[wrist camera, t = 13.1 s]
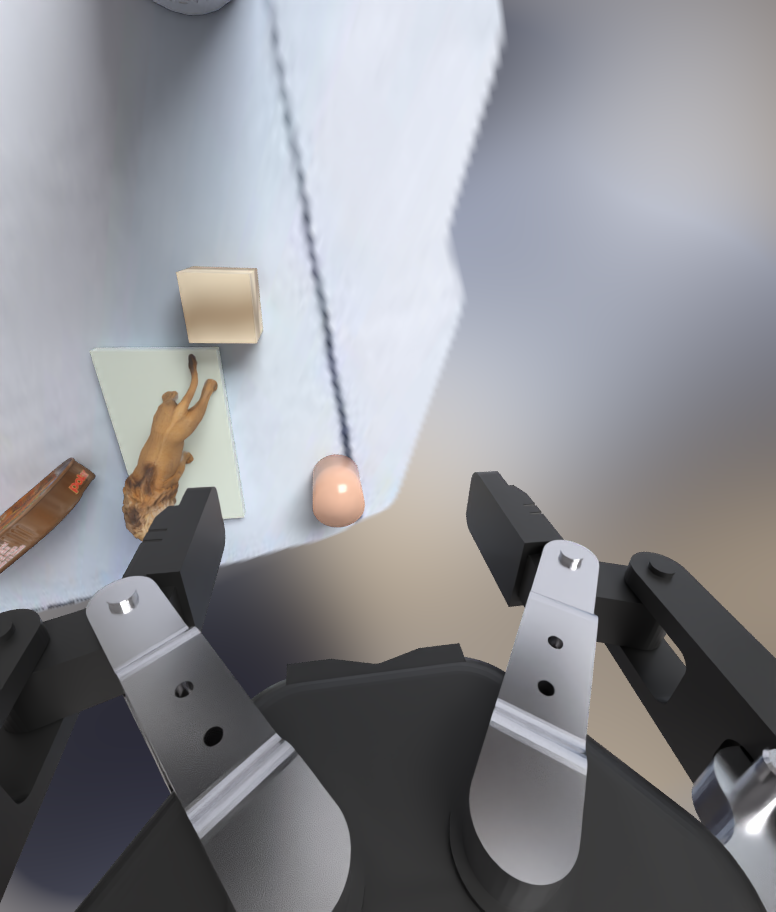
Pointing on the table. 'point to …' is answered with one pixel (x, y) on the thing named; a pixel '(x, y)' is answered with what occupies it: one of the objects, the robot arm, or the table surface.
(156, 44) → the table surface
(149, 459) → the lion figurine
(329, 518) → the peach rounded cylinder
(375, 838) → the robot arm
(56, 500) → the tin
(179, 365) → the sage board
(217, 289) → the birch block
